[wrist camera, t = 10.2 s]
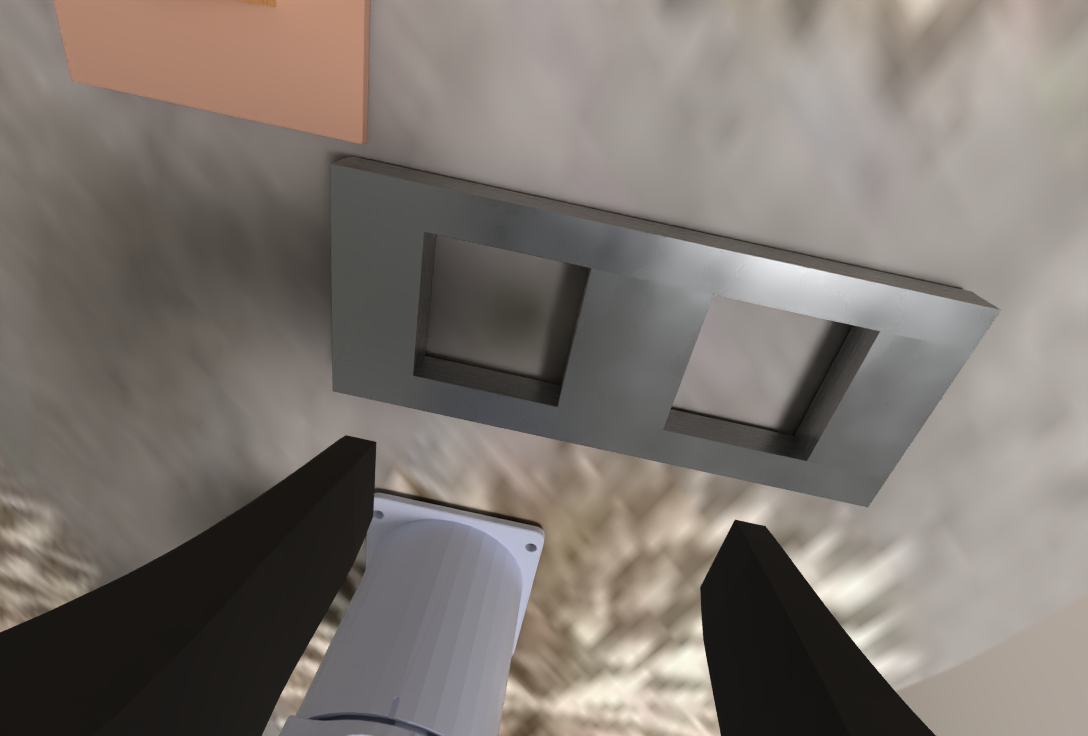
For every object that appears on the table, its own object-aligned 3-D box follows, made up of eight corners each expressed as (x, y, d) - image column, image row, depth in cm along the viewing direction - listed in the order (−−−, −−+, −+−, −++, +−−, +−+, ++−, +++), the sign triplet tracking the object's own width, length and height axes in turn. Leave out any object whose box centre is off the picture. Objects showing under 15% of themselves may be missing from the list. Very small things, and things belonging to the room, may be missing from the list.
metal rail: (851, 479, 21) (867, 507, 20) (350, 371, 21) (332, 391, 20) (970, 291, 17) (1001, 310, 16) (351, 156, 17) (330, 163, 16)
